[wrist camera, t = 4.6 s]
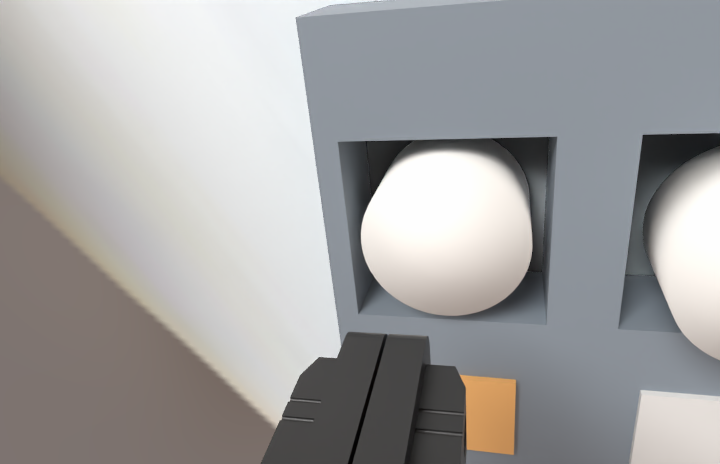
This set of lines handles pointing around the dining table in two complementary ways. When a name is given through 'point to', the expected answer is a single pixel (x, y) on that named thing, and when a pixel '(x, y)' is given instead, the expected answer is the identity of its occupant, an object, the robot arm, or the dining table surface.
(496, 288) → the button
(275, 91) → the dining table surface
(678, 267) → the middle button
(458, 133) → the button board
